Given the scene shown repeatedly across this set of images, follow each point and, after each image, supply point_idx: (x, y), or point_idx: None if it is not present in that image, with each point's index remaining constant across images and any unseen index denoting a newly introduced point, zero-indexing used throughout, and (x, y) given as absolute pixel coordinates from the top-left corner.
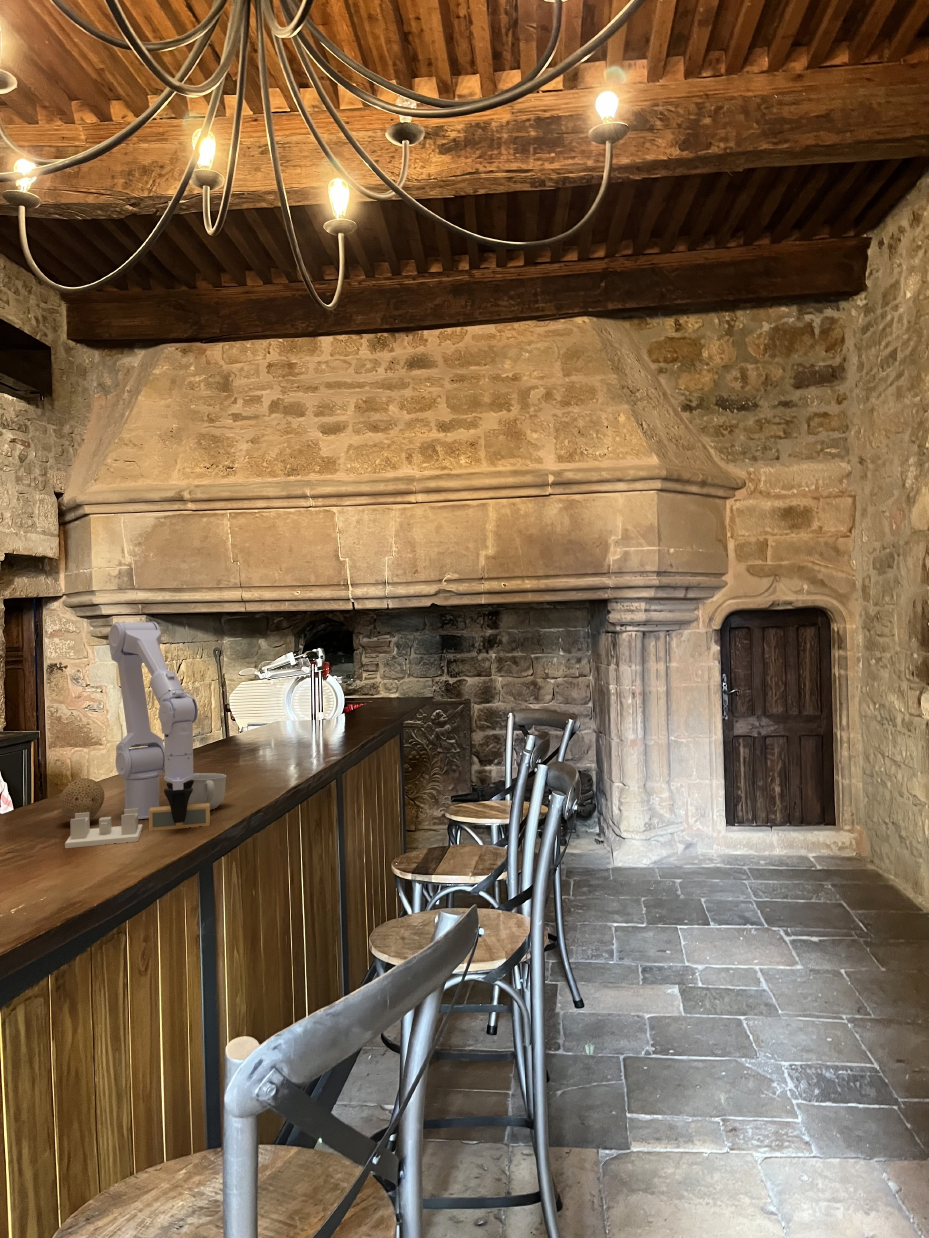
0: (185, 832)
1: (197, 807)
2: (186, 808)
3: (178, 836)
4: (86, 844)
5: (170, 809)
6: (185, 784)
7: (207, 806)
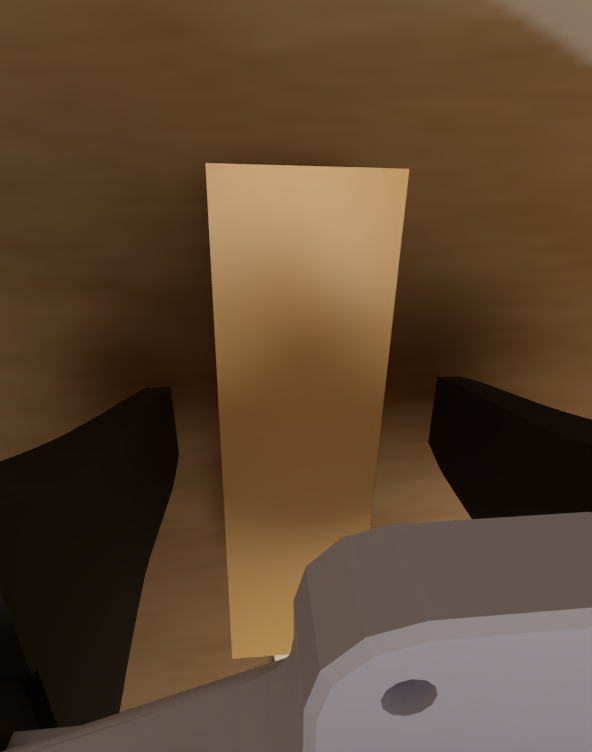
0: (482, 344)
1: (393, 304)
2: (547, 409)
3: (565, 378)
4: None
5: (369, 525)
6: (54, 609)
7: (405, 190)
